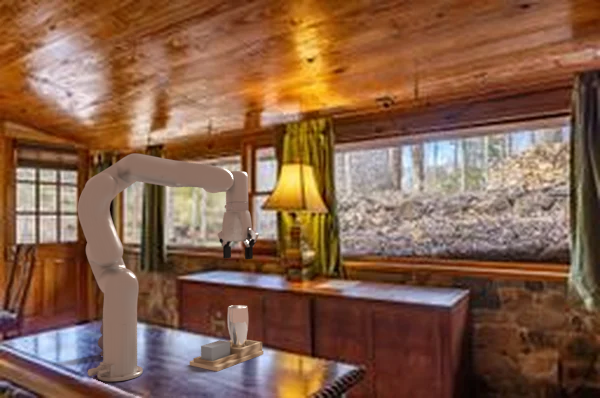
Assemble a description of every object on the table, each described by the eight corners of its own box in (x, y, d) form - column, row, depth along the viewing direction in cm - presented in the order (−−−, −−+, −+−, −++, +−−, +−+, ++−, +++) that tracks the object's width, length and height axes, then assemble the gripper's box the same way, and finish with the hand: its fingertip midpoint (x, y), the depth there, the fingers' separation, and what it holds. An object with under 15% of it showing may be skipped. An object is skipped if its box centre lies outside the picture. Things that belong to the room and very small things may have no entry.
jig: (217, 371, 151) (217, 357, 151) (189, 365, 158) (189, 352, 158) (263, 354, 169) (263, 342, 170) (236, 349, 176) (236, 338, 176)
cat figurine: (128, 354, 172) (128, 319, 173) (108, 360, 166) (108, 323, 166) (113, 351, 177) (112, 316, 177) (92, 356, 170) (92, 320, 171)
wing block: (211, 364, 154) (211, 347, 155) (201, 362, 157) (200, 346, 157) (230, 357, 162) (230, 341, 162) (219, 355, 164) (219, 340, 164)
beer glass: (250, 349, 171) (249, 304, 172) (247, 354, 164) (246, 308, 165) (230, 349, 172) (229, 305, 172) (226, 354, 165) (225, 308, 166)
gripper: (210, 208, 172) (211, 258, 171) (249, 207, 162) (250, 260, 161) (225, 208, 178) (226, 257, 177) (264, 207, 168) (264, 258, 168)
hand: (237, 258), depth 169 cm, fingers open, 9 cm apart
